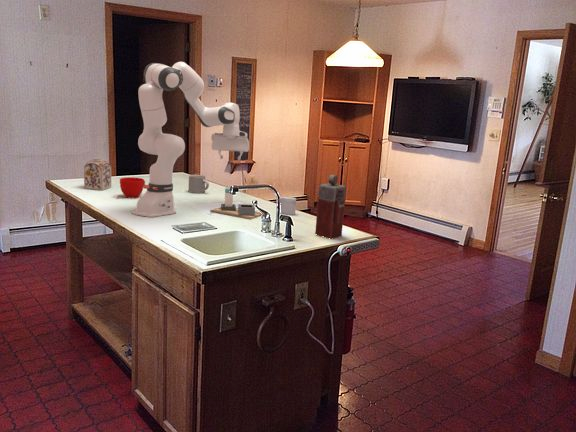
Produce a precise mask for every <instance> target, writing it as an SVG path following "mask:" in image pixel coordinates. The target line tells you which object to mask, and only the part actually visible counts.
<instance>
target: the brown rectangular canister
mask: <svg viewBox="0 0 576 432" xmlns="http://www.w3.org/2000/svg"><path fill="white" fill-rule="evenodd" d="M338 177H339V176H337V175H335V174H330V175H329V176H328V183H324V184H323V183H322V184H320V185H319V186H318V195H317V209H316V221H315V231H314V232H315V233H314V235H315V234H317V235H320V236H319V237H321V236H324V237H323V238H325V237H326V239H329V238H330V240H332V238H333V239H336V238H339V237H342V235H343V226H344V216H345V215H344V213H345V204H346V203H345V201H346V193H347V192H346V191H347V186H345V185H343V184H337V183H338V181H339V178H338ZM317 235H316V236H317Z"/></svg>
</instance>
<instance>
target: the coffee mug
mask: <svg viewBox="0 0 576 432" xmlns="http://www.w3.org/2000/svg"><path fill="white" fill-rule="evenodd" d="M209 186H210V183H209V181H208V180H207V179H206V176H205V175H203V174H190V175H188V193H190V194H196V195H197V194H198V195H199V194H205V193H206V191H207V190H208V189H209Z"/></svg>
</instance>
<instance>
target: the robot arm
mask: <svg viewBox="0 0 576 432" xmlns="http://www.w3.org/2000/svg"><path fill="white" fill-rule="evenodd" d="M142 81H143V84H141V85H140V86H139V87H138V92H137V93H138V94H137V95H138V101H139V102H138V103H139V108H140V111H141V117H142V120H143V131H142V133H141V134H140V135H139V137H138V140H137V141H138V142H137V145H138V148H139V150H140V151H142V152H143V153H146V154H148V155H156V156H157V160H156V162H155V163H153V164H151V166H150V168H149V182H148V184H145V185H144V186H143V189H146V192H145V193H144V194H143V195H141V197H140V198H139V199H138V200H137V202H136V209H133V210H132V211H131V214H133V215H137V216H140V217H149V218H156V217H160V216H161V217H163V216H167V215H173V214H174V215H175V214H176V213H177V211H176V209H175V208H176V207H175V198H174V194H173V191H174V183H173V170H174V166H175V163H176V161H177V160H178V158H180V157H181V156H182V155H183V154H184V152H185V150H186V143H185V141H184V139H183V137H180V136H178V135H175V134H172V133H163V130H162V129H163V128H162V127H163V126H165V124H166V123H167V121H168V117H167V112H166V109H165V108H166V107H165V103H164V99H163V92H164V91H167V92H168V91H171V92H172V91H174V90H176V89H178V88H179V89H180V90H181V91H182V92H183V96H184V99H185V101H186V102H187V104H188V105H189V107H190V108H191V109H192V111H193V112H194V113H195V115H196V116H197V118H198V120H199V122H200V124H201V125H202V126H203V127H205V128H212V127H218V126H222V132H214V133H212V134H211V139H210V140H211V143H212V144H211V149H212V150H213V151H217V153H218V154H219V159H220V160H223V159H224V155H222V154H221V153H222V151H223V152H225V151H227V152H239V154H240V155H238V156H237V160H238V161H241V160H242V159H241V157H242V155H243V154H244V153H245V152H246V153H247V152H249V151H250V142H249V141H250V140H249V139H248V133H247V132H245V131H242V130H240V120H241V119H240V118H241V114H240V113H241V111H240V106H239V105H238V104H237V103H235V102H230V101H228V102H226V103H224V104H223V105H220V106H215V107H208V106H205V105H204V103H203V102H202V101H201V100H200V97H201V96H202V94H203V93H204V91H205V83H204V81H203V79H202V77H201V76H200V75H199V74H198V73H197V72H196V71H195V70H194V68H192V67H191V66H190V65H188V64H187V63H186V62H185V61H178V62H175V63H174V64H173V65H172V66H168V65H166V64H163V63H158V62H152V63H149V64H147V65H146V66H145V68H144V70H143V79H142Z"/></svg>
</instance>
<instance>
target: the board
mask: <svg viewBox="0 0 576 432" xmlns="http://www.w3.org/2000/svg"><path fill="white" fill-rule="evenodd" d="M209 212H210V213H214V214H219V215H224V216H231V217H235V218H239V219H246V220H253V219H255V218H259V217H262V216H261V213H262V212H261V211H256V210H255V216H247V215H239V214H238V207H236V211H221V206H219V207H217V208H214V209H210V211H209ZM260 212H261V213H260Z"/></svg>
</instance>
